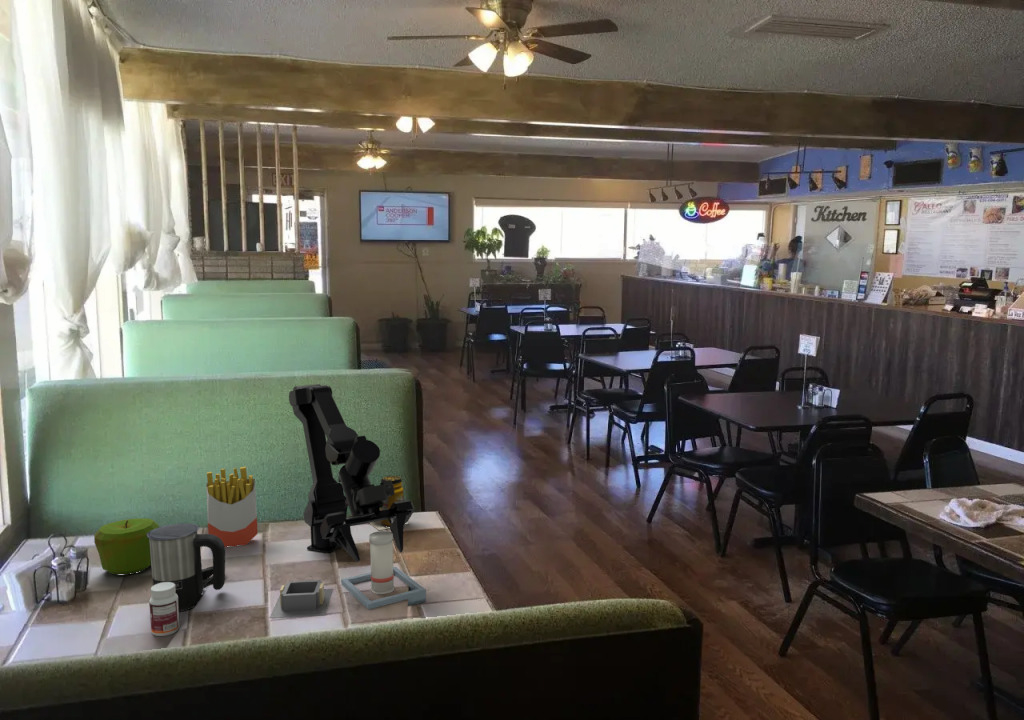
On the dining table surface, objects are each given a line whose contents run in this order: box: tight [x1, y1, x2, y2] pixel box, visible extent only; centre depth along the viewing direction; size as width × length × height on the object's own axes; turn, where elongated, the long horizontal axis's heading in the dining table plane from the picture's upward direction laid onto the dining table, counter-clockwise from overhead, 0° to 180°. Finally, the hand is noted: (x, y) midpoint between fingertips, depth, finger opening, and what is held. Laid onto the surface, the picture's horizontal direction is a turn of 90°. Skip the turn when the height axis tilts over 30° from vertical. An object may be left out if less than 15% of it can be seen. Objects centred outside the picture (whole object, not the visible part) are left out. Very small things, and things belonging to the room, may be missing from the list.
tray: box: [340, 566, 427, 610], centre depth 153 cm, size 14×12×2 cm
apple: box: [93, 517, 160, 575], centre depth 167 cm, size 12×12×11 cm
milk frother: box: [147, 522, 226, 612], centre depth 154 cm, size 14×16×15 cm
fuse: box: [368, 530, 395, 595], centre depth 153 cm, size 5×5×12 cm
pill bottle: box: [148, 582, 181, 637], centre depth 139 cm, size 5×5×8 cm
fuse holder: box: [269, 579, 334, 619], centre depth 147 cm, size 12×10×5 cm
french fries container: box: [205, 466, 258, 548], centre depth 183 cm, size 5×11×18 cm, turn 109°
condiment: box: [369, 475, 405, 531], centre depth 197 cm, size 7×8×12 cm
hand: (380, 556), depth 153 cm, fingers open, 9 cm apart
